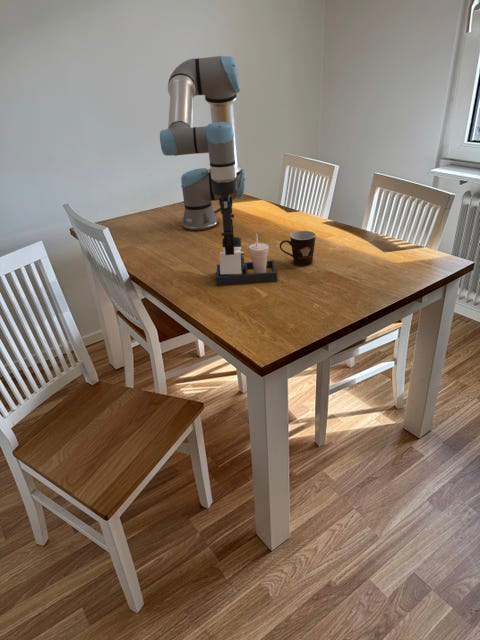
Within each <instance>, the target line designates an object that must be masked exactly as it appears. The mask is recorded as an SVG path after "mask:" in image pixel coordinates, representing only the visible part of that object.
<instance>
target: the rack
mask: <svg viewBox="0 0 480 640" xmlns="http://www.w3.org/2000/svg"><path fill="white" fill-rule="evenodd" d="M275 263H276V262H275V260H267V265H266V273H254V268H253V263H252V261H246V262H245V261H244V273H243V274H234V275H221V274H220V263H218V264H217V265H216V274H215V275H216V276H215V277H216V286H218V287H219V286H231V285H243V284H244V285H246V284H257V283H270V282H278V281H277V280H278V275H277V274H278V272H277V268H276V264H275Z"/></svg>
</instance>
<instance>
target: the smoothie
mask: <svg viewBox="0 0 480 640" xmlns="http://www.w3.org/2000/svg"><path fill="white" fill-rule="evenodd" d="M269 247H270V246H269V245H268V244H267V243H264V242H259V239H258V233H255V243H252V244H251V245H249V246H248V251H249V252H250V257H251V262H252V263H253V268H254V273H266V265H267V261H268V253H269V249H270V248H269Z"/></svg>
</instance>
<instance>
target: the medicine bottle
mask: <svg viewBox="0 0 480 640" xmlns="http://www.w3.org/2000/svg"><path fill="white" fill-rule="evenodd" d="M221 240H222V250H223V251H221V252H219V264H220V274H221V275H234V274H243V273H244V263H245V252H244V251H241V250H242V239H241V237H238V236H234V237H233V244H234V255H226V254H225V244H224V237H223V238H222V239H221Z"/></svg>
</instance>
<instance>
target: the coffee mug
mask: <svg viewBox="0 0 480 640" xmlns="http://www.w3.org/2000/svg"><path fill="white" fill-rule="evenodd" d="M316 237H317V234H316V232H314V231H311V230H297V231H293V232H292V233H290V234H289V238H290V240H287V239H285V240H282V241H281V242H280V243H279V249H280V250H281V251H282V252H283V253H284V254H286V255H288V256H290V257H292V261H293V264H294V265H295V266H297V267H308V266H311V265H312V264H313V260H314V251H315V244H316ZM284 243H287V244H289V245H290V247H291V253H290V252H287V251H286V250H284V249H283V248H282V245H283V244H284Z"/></svg>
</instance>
